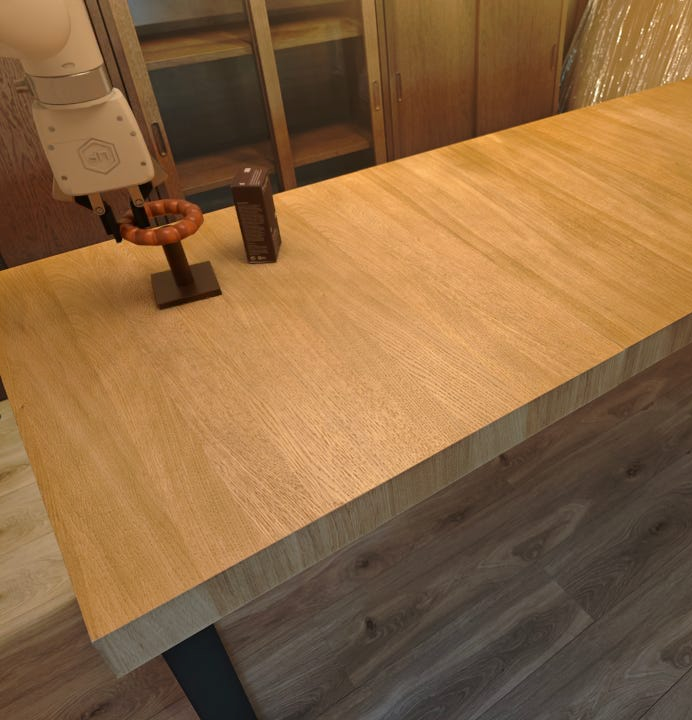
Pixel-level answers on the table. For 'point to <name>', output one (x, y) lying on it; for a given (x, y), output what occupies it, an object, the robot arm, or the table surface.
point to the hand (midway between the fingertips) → (131, 234)
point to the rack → (183, 279)
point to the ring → (162, 235)
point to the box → (256, 214)
